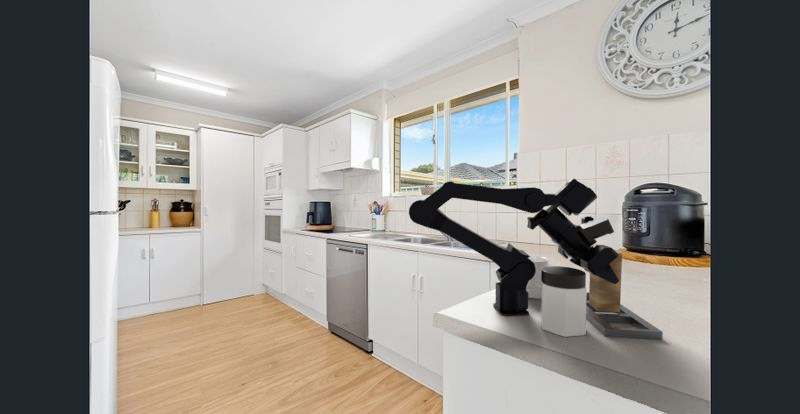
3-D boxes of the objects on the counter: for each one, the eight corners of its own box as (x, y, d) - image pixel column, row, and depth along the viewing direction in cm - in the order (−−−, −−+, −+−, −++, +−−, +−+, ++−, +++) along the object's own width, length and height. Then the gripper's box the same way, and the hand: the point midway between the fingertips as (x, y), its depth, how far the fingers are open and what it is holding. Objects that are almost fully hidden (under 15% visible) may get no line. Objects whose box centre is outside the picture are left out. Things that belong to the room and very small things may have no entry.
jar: (593, 329, 65) (594, 271, 64) (576, 342, 59) (578, 278, 59) (549, 316, 72) (550, 263, 71) (531, 326, 66) (532, 269, 66)
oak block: (597, 310, 70) (599, 252, 70) (588, 303, 75) (590, 248, 74) (620, 312, 69) (622, 253, 69) (609, 304, 74) (611, 249, 73)
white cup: (545, 301, 81) (546, 262, 81) (513, 296, 85) (514, 259, 85) (549, 293, 88) (550, 257, 87) (519, 288, 92) (520, 254, 91)
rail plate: (605, 336, 62) (605, 328, 61) (563, 297, 84) (563, 291, 84) (662, 339, 60) (662, 331, 60) (603, 298, 83) (604, 293, 83)
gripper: (608, 207, 62) (669, 265, 61) (572, 203, 81) (618, 247, 80) (564, 246, 64) (622, 302, 63) (539, 233, 82) (583, 277, 81)
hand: (611, 279), depth 72 cm, fingers closed on oak block, 4 cm apart
